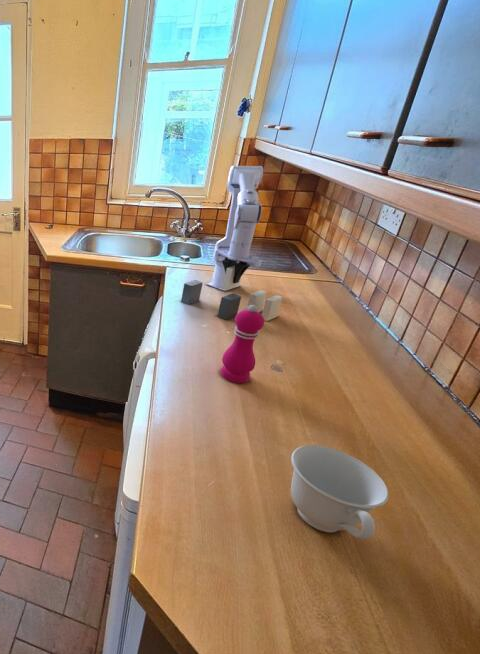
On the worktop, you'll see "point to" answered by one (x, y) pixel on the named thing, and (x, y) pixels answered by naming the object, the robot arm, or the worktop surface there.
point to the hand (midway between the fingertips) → (231, 281)
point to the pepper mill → (242, 346)
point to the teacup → (335, 490)
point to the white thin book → (230, 278)
